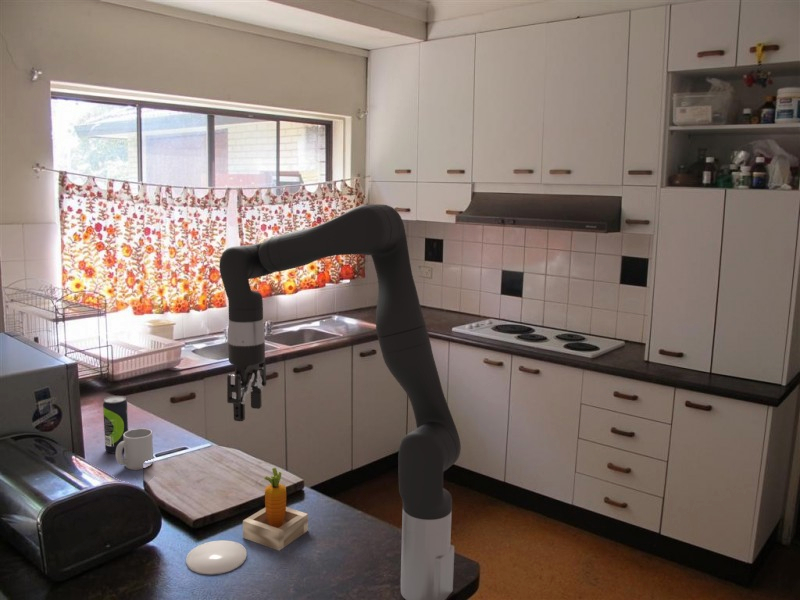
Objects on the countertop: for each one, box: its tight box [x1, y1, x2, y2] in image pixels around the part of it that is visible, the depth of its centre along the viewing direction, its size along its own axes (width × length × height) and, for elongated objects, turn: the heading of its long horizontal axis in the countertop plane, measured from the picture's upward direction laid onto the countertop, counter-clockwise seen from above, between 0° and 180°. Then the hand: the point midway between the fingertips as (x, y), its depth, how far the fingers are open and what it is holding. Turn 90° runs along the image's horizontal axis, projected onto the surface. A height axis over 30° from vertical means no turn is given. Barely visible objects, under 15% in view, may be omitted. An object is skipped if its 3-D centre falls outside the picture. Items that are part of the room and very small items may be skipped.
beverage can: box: [102, 395, 129, 454], centre depth 197 cm, size 6×6×15 cm
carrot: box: [264, 467, 287, 528], centre depth 153 cm, size 5×5×15 cm
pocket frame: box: [242, 506, 309, 552], centre depth 154 cm, size 10×10×4 cm
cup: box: [114, 428, 154, 471], centre depth 187 cm, size 7×10×9 cm
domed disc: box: [185, 539, 248, 575], centre depth 144 cm, size 12×12×1 cm
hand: (248, 414), depth 150 cm, fingers open, 8 cm apart
